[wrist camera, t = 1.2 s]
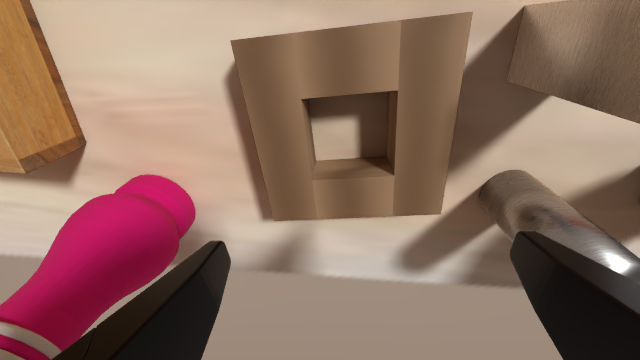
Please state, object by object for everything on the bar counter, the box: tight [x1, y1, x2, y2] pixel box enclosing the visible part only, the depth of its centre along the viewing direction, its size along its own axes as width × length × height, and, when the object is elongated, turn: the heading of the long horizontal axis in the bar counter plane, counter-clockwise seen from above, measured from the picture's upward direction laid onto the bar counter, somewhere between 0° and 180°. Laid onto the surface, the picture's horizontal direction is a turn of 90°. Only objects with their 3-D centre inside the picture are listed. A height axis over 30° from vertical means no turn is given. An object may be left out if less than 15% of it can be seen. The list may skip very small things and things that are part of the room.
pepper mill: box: [0, 175, 195, 360], centre depth 15 cm, size 7×7×20 cm
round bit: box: [479, 170, 640, 284], centre depth 17 cm, size 4×4×9 cm
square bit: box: [507, 0, 640, 124], centre depth 11 cm, size 4×4×9 cm
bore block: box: [231, 12, 473, 221], centre depth 17 cm, size 12×12×3 cm
